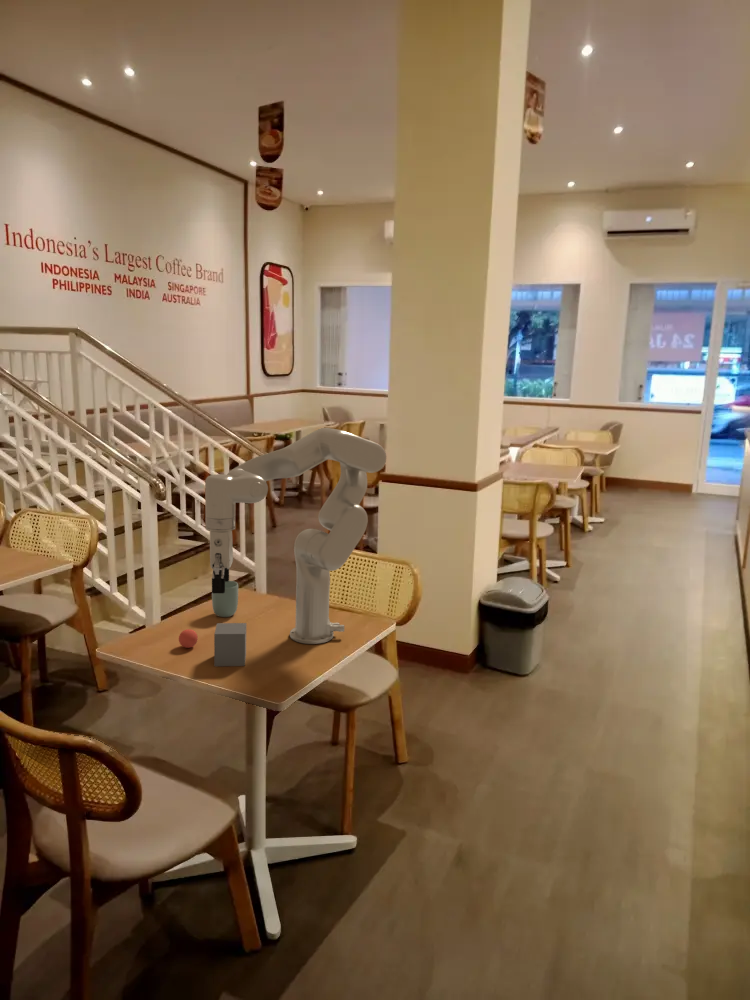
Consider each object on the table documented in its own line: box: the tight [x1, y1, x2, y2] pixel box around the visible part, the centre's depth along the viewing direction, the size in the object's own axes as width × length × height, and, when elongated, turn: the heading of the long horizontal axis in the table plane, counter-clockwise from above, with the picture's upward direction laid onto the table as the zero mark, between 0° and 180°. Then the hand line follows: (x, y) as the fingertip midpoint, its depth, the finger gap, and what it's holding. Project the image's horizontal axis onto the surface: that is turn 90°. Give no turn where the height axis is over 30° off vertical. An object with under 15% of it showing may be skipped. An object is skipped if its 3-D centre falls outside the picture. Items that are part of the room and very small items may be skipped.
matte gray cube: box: [213, 622, 247, 667], centre depth 187 cm, size 8×8×9 cm
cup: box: [211, 580, 239, 618], centre depth 219 cm, size 8×8×10 cm
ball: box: [178, 628, 199, 649], centre depth 194 cm, size 5×5×5 cm
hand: (220, 586), depth 185 cm, fingers open, 9 cm apart
